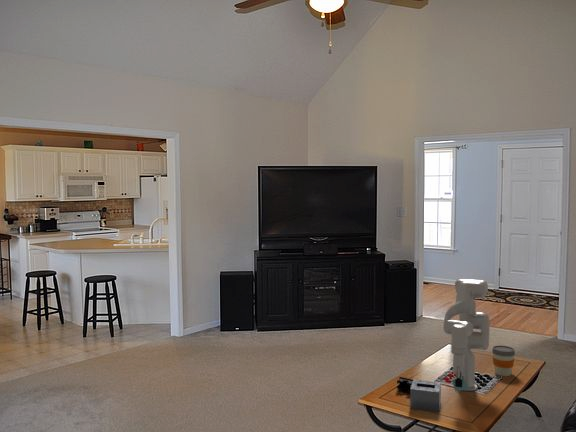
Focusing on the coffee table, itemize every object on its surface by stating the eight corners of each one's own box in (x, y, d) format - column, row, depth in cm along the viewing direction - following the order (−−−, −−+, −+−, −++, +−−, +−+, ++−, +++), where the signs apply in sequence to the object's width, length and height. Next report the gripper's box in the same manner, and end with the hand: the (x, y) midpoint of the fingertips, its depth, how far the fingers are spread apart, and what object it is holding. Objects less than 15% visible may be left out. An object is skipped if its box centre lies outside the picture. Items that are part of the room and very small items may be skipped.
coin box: (413, 397, 280) (413, 379, 280) (440, 401, 276) (440, 382, 275) (410, 408, 267) (410, 388, 267) (439, 412, 263) (439, 392, 262)
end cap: (418, 391, 290) (418, 379, 290) (413, 395, 284) (413, 382, 284) (401, 387, 296) (401, 375, 296) (396, 391, 290) (396, 378, 290)
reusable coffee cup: (492, 368, 325) (493, 344, 325) (515, 371, 320) (515, 347, 319) (490, 375, 314) (491, 350, 313) (513, 378, 309) (514, 352, 308)
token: (455, 390, 265) (451, 378, 265) (467, 387, 263) (463, 375, 263) (455, 391, 263) (451, 380, 263) (467, 389, 261) (463, 377, 261)
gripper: (451, 344, 270) (451, 379, 272) (450, 354, 256) (450, 391, 257) (467, 345, 268) (466, 381, 269) (467, 355, 253) (466, 393, 255)
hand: (458, 385), depth 263 cm, fingers closed on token, 1 cm apart
